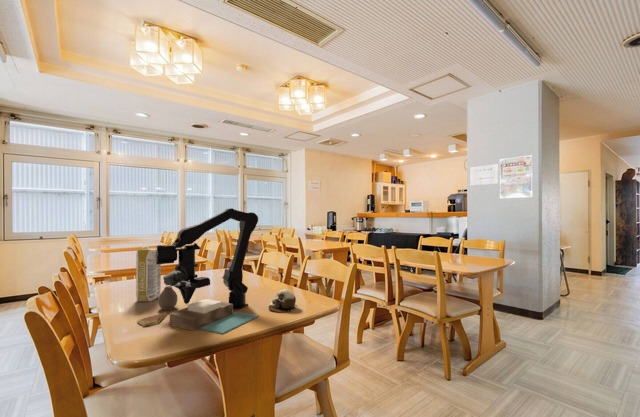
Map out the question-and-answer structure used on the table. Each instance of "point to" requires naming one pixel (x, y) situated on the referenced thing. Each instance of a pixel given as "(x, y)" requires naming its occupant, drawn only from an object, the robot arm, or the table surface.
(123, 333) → the table surface
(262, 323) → the table surface
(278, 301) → the skull
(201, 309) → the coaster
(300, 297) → the table surface
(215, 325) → the mat
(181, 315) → the brick
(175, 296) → the vase
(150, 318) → the shard
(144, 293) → the juice carton
